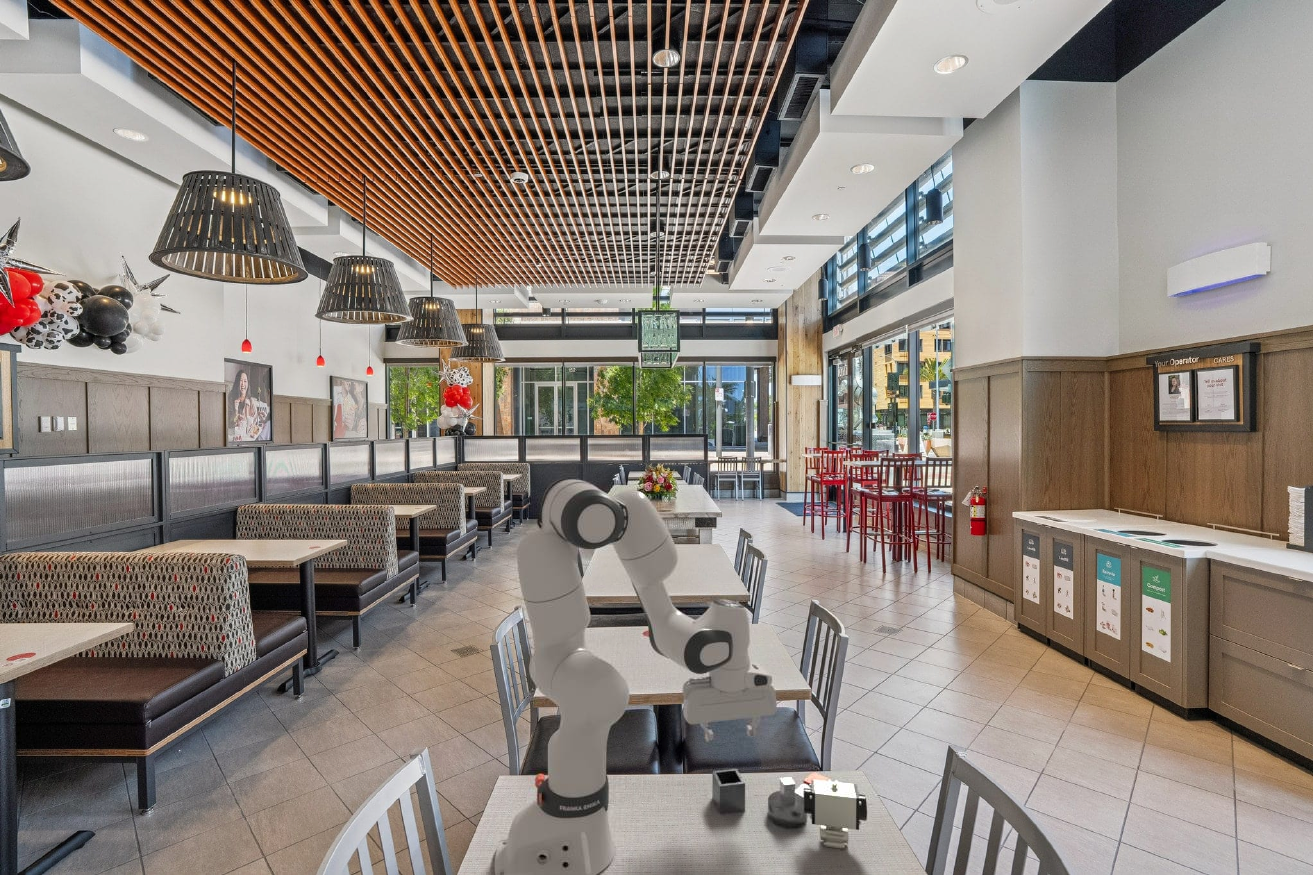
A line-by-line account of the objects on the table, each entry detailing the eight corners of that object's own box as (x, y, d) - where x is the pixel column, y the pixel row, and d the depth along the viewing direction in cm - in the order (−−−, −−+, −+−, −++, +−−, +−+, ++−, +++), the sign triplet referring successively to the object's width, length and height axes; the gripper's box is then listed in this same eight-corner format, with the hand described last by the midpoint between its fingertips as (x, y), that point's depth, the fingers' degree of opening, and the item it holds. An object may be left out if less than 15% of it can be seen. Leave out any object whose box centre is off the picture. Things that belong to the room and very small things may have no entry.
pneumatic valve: (866, 855, 117) (867, 793, 116) (803, 846, 119) (804, 786, 119) (863, 836, 122) (863, 777, 122) (803, 828, 124) (803, 770, 124)
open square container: (719, 814, 129) (719, 786, 129) (712, 798, 134) (712, 771, 134) (745, 811, 130) (745, 783, 130) (736, 795, 135) (736, 768, 135)
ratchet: (793, 834, 123) (793, 797, 122) (760, 816, 128) (760, 781, 128) (837, 795, 135) (837, 761, 135) (805, 780, 141) (805, 748, 141)
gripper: (685, 685, 126) (686, 751, 127) (779, 676, 130) (779, 739, 131) (679, 673, 133) (680, 735, 133) (768, 664, 136) (769, 725, 137)
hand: (730, 737), depth 132 cm, fingers open, 8 cm apart
